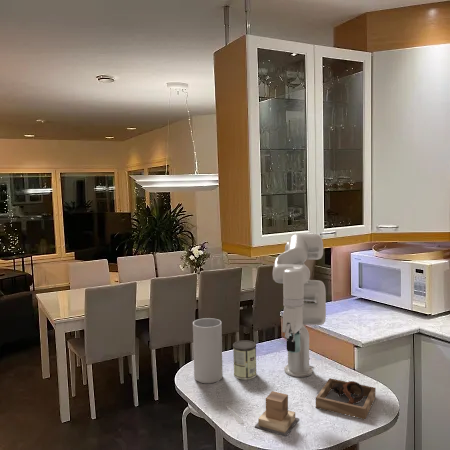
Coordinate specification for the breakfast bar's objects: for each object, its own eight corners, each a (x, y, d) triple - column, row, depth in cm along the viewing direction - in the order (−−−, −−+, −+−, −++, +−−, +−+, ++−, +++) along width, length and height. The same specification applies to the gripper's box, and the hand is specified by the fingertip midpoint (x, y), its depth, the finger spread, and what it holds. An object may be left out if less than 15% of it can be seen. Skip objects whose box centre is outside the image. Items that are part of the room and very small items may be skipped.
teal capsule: (290, 346, 171) (290, 331, 171) (302, 349, 169) (302, 334, 168) (284, 351, 167) (284, 335, 167) (296, 353, 165) (296, 338, 164)
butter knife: (237, 424, 158) (244, 422, 159) (210, 392, 183) (217, 390, 184) (237, 426, 158) (245, 423, 159) (211, 393, 183) (217, 391, 184)
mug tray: (329, 387, 185) (329, 378, 184) (375, 397, 176) (375, 387, 175) (315, 407, 169) (315, 397, 168) (365, 419, 160) (365, 409, 159)
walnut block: (272, 409, 162) (272, 391, 162) (288, 413, 159) (287, 394, 159) (265, 417, 157) (265, 398, 156) (281, 421, 154) (281, 402, 154)
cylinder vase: (201, 369, 204) (200, 316, 201) (226, 373, 199) (225, 319, 197) (189, 381, 193) (187, 325, 190) (215, 386, 188) (214, 328, 185)
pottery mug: (360, 394, 179) (366, 382, 174) (359, 415, 172) (365, 403, 167) (330, 385, 181) (336, 372, 177) (328, 405, 174) (333, 392, 169)
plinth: (268, 411, 167) (268, 403, 166) (298, 419, 161) (298, 411, 160) (254, 427, 156) (254, 419, 156) (286, 436, 150) (286, 428, 150)
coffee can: (238, 368, 205) (238, 338, 204) (259, 371, 201) (259, 341, 199) (229, 377, 196) (229, 346, 194) (251, 381, 191) (251, 350, 190)
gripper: (292, 294, 175) (292, 339, 177) (275, 306, 160) (275, 354, 162) (310, 297, 171) (310, 342, 173) (295, 309, 157) (295, 358, 159)
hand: (293, 348), depth 168 cm, fingers closed on teal capsule, 5 cm apart
